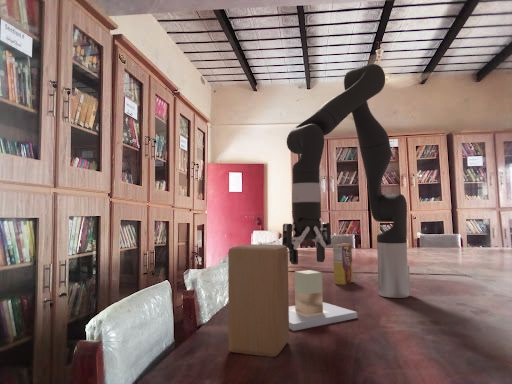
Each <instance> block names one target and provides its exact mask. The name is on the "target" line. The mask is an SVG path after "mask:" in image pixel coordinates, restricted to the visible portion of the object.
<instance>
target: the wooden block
mask: <svg viewBox="0 0 512 384" xmlns="http://www.w3.org/2000/svg"><path fill="white" fill-rule="evenodd" d="M227 254H228V256H227V258H228V262H227V263H228V265H227V266H228V267H227V268H228V280H227V281H228V284H227V285H228V287H227V288H228V293H227V294H228V299H227V300H228V302H227V303H228V308H227V309H228V314H227V315H228V350H229V351H230V352H231V353H237V354H245V355H252V356H253V355H254V356H262V357H269V358H275V357H277V356H279V354H281V351H283V349H284V348H285V346H286V345H287V344H288V342H289V340H290V329H289V306H290V305H289V300H290V299H289V297H290V296H289V249H288V248H287V247H286V246H284V245H282V244H257V243H256V244H252V243H251V244H242V245H237V246H233V247H230V248H229V249H228V252H227Z"/></svg>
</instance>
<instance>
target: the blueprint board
mask: <svg viewBox="0 0 512 384" xmlns="http://www.w3.org/2000/svg"><path fill="white" fill-rule="evenodd" d="M357 318H358V312H357V311H355V310H352V309H348V308H344V307H341V306H338V305H334V304H331V303H328V302H324V301H323V312H320V313H315V314H309V315H307V314H304V313H301V312H298V311H295V305H289V330H291V331H294V332H295V331H299V330H304V329H309V328H314V327H320V326H324V325H329V324H335V323H339V322H344V321H349V320H354V319H357Z"/></svg>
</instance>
